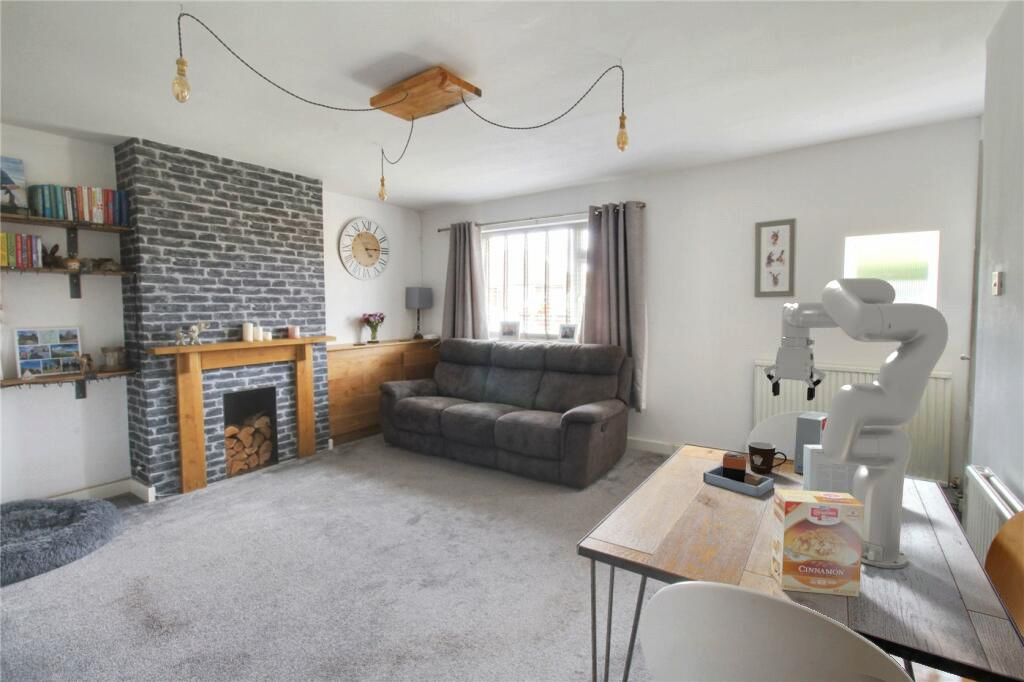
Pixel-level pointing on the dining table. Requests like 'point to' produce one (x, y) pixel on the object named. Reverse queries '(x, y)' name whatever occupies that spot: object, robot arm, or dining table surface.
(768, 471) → the coffee mug
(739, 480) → the battery
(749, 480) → the walnut block
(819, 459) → the skincare box
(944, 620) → the dining table surface
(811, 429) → the hard drive box
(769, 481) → the bin
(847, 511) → the coffeecake box
